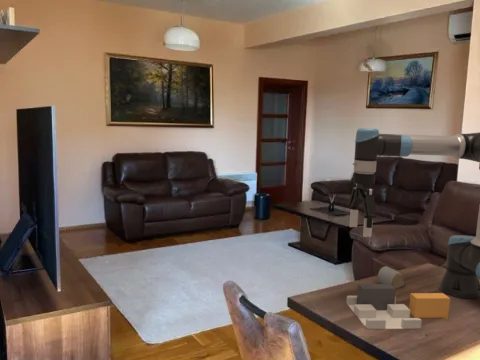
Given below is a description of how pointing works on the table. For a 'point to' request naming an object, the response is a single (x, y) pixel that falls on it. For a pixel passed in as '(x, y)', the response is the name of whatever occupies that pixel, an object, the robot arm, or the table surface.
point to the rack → (384, 316)
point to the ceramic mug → (390, 277)
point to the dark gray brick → (376, 295)
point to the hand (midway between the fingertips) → (359, 231)
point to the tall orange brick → (429, 305)
